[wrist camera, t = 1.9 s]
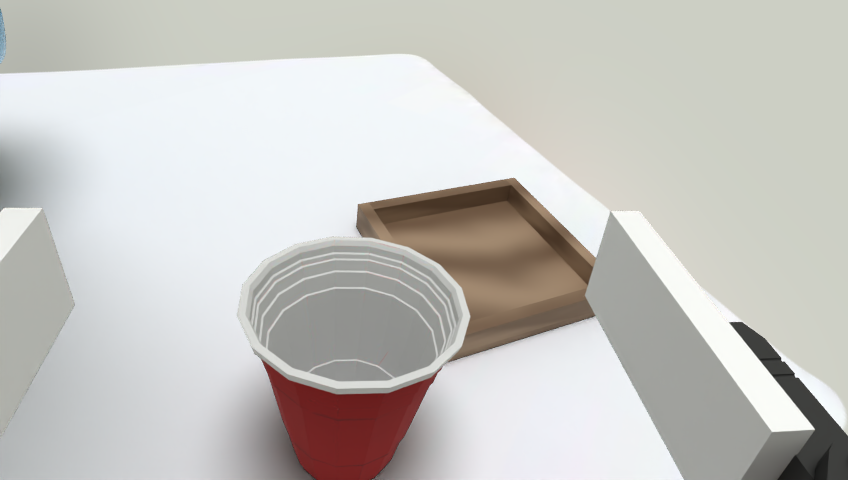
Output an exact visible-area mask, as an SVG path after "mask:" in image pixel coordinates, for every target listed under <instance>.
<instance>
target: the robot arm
mask: <svg viewBox="0 0 848 480" xmlns="http://www.w3.org/2000/svg"><path fill="white" fill-rule="evenodd" d="M5 52H6V37H5V28H4V22H3V17H2V13H1V9H0V63H1V62H2V61H3V59H4V57H5ZM585 297H586V299H587V301H588V303H589V304H590V306H591V308H592V310H593V312H594V314H595V316H596V317H597V319H598V321H599V323H600V325H601V327H602V328H603V330H604V332H605V334H606V336H607V338H608V340H609V341H610V343H611V345H612V347H613V349H614V351H615V353H616V354H617V356H618V358H619V360H620V362H621V364H622V366H623V367H624V369H625V371H626V373H627V375H628V377H629V379H630V380H631V382H632V384H633V386H634V388H635V390H636V392H637V393H638V395H639V397H640V399H641V401H642V403H643V404H644V406H645V408H646V410H647V412H648V414H649V416H650V417H651V419H652V421H653V423H654V425H655V427H656V429H657V430H658V432H659V434H660V436H661V438H662V440H663V442H664V443H665V445H666V447H667V449H668V451H669V453H670V455H671V456H672V458H673V460H674V462H675V464H676V466H677V468H678V469H679V471H680V473H681V475H682V477H683V479H684V480H848V436H847V435H846V433H845V432H844V431H843V430H842V429H841V427H840V426H839V425H838V424H837V423H836V422H835V420H834V419H833V418H832V417H831V416H830V415H829V413H828V412H827V411H826V410H825V409H824V407H823V406H822V405H821V404H820V403H819V402H818V400H817V399H816V398H815V397H814V396H813V395H812V393H811V392H810V391H809V390H808V389H807V388H806V386H805V385H804V384H803V383H802V382H801V380H800V379H799V378H795V376H794V374H795V373H794V372H793V371H792V370H791V369H790V368H789V366H788V365H787V364H786V363H785V362H782V361H781V357H780V356H779V355H778V353H777V352H776V351H775V350H774V349H773V348H772V346H771V345H770V344H769V343H768V342H767V341H766V339H765V338H763V337H762V336H761V335H759V334H758V333H756V332H755V331H754V330H752V329H751V328H749V327H748V326H747V325H745V324H744V323H743V322H728V321H727V319H726V318H725V317H724V316H723V314H722V313H721V312H720V311H719V309H718V308H717V307H716V306H715V304H714V303H713V302H712V301H711V299H710V298H709V297H708V296H707V295H706V293H705V292H704V291H703V290H702V288H701V287H700V286H699V285H698V283H697V282H696V281H695V280H694V278H693V277H692V276H691V275H690V273H689V272H688V271H687V270H686V269H685V267H684V266H683V265H682V263H681V262H680V261H679V260H678V259H677V257H676V256H675V255H674V254H673V253H672V251H671V250H670V249H669V248H668V246H667V245H666V244H665V242H664V241H663V240H662V239H661V237H660V236H659V235H658V234H657V232H656V231H655V230H654V229H653V228H652V226H651V225H650V224H649V223H648V221H647V220H646V219H645V218H644V216H643V215H642V214H641V213H640V211H611V212H610V215H609V218H608V222H607V225H606V228H605V231H604V235H603V238H602V241H601V244H600V248H599V251H598V254H597V257H596V261H595V264H594V267H593V271H592V274H591V277H590V280H589V284H588V287H587V290H586V293H585ZM74 305H75V303H74V300H73V297H72V294H71V291H70V288H69V285H68V282H67V279H66V276H65V273H64V270H63V267H62V264H61V261H60V258H59V255H58V252H57V249H56V246H55V243H54V240H53V237H52V234H51V231H50V228H49V225H48V222H47V219H46V216H45V213H44V210H43V208H4V209H3V210H2V211H1V212H0V438H1V436H2V435H3V433H4V431H5V429H6V427H7V426H8V424H9V422H10V420H11V419H12V417H13V415H14V413H15V411H16V410H17V408H18V406H19V404H20V402H21V401H22V399H23V397H24V395H25V393H26V392H27V390H28V388H29V386H30V384H31V383H32V381H33V379H34V377H35V375H36V374H37V372H38V370H39V368H40V366H41V365H42V363H43V361H44V359H45V357H46V356H47V354H48V352H49V350H50V348H51V347H52V345H53V343H54V341H55V339H56V338H57V336H58V334H59V332H60V330H61V329H62V327H63V325H64V323H65V321H66V320H67V318H68V316H69V314H70V312H71V311H72V309H73V307H74Z"/></svg>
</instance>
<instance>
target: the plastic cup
mask: <svg viewBox="0 0 848 480" xmlns="http://www.w3.org/2000/svg"><path fill="white" fill-rule="evenodd" d="M237 317H238V319H239V321H240V323H241V325H242V328H243V330H244V332H245V334H246V336H247V338H248V341H249V343H250V345H251V347H252V349H253V351H254V353H255V355H257V356H258V357H259V358H261V360H262V362H263V364H264V367H265V369H266V371H267V373H268V376H269V379H270V382H271V385H272V389H273V392H274V395H275V398H276V401H277V404H278V407H279V410H280V413H281V417H282V420H283V423H284V425H285V427H286V429H287V432H288V434H289V436H290V439H291V442H292V445H293V448H294V450H295V453H296V455H297V457H298V460H299V462H300V464H301V465H302V466H303V468H304V469H305V470H306V471H307V472H308V473H309V474H310V475H312V476H313V477H314V478H315V479H316V480H371V479H373V478H375V476H376V475H377V474H378V473H379V472H380V471H381V470H382V469H383V468H384V467H385V466H386V465H387V464H388V463H389V461H390V460H391V459H392V457H393V455H394V453H395V451H396V448H397V446H398V444H399V442H400V441H401V440H402V439H403V438H404V436H405V434H406V432H407V430H408V428H409V426H410V424H411V422H412V420H413V418H414V416H415V414H416V412H417V410H418V408H419V406H420V404H421V402H422V400H423V398H424V396H425V394H426V392H427V390H428V388H429V386H430V385H431V384H432V383H433V381H434V379H435V377H436V375H437V373H438V372H439V371H440V370H441V369H442V367H443V366H444V365H445V364H446V363H447V362H448V361H449V360H450V359H451V358H452V357H453V356H454V355H455V354H456V353H457V352H458V351H459V350H460V348H461V347H462V344H463V341H464V337H465V334H466V330H467V327H468V323H469V320H470V313H469V310H468V307H467V304H466V300H465V297H464V294H463V291H462V288H461V287H460V286H459V285H458V284H457V282H456V281H455V280H454V279H453V278H452V277H451V276H450V275H449V274H448V273H447V272H446V271H445V270H444V268H443V267H442V266H441V265H440V264H438V263H436V262H434V261H433V260H431V259H429V258H427V257H425V256H424V255H422V254H420V253H418V252H416V251H414V250H413V249H411V248H409V247H406V246H402V245H398V244H394V243H390V242H386V241H382V240H378V239H375V238H364V237H328V238H323V239H318V240H313V241H308V242H303V243H298V244H294V245H293V246H291V247H289V248H287V249H285V250H283V251H281V252H279V253H277V254H275V255H273V256H271V257H269V258H267V259H265V260H264V261H263V262H262V263H261V264H260V265H259V266H258V267H257V269H256V270H255V271H254V272H253V273H252V274H251V275H250V277H249V278H248V279H247V280H246V281H245V282H244V284H243V285H242V289H241V295H240V301H239V307H238V312H237Z"/></svg>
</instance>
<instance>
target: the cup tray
mask: <svg viewBox="0 0 848 480" xmlns="http://www.w3.org/2000/svg"><path fill="white" fill-rule="evenodd" d="M356 227H357V229H358V230H359V232H360V233H361V235H362V237H364V238H375V239H378V240H382V241H386V242H390V243H394V244H398V245H402V246H406V247H409V248H411V249H413V250H414V251H416V252H418V253H420V254H422V255H424V256H425V257H427V258H429V259H431V260H433V261H434V262H436V263H438V264H440V265H441V266H442V267H443V268H444V270H445V271H446V272H447V273H448V274H449V275H450V276H451V277H452V278H453V279H454V280H455V281H456V282H457V284H458V285H459V286H460V287H461V288H462V291H463V294H464V297H465V300H466V304H467V307H468V310H469V313H470V320H469V323H468V327H467V330H466V334H465V337H464V341H463V344H462V347H461V348H460V350H459V351H458V352H457V353H456V354H455V355H454V356H453V357H452V358H451V359H450V360H449V361H452V360H456V359H459V358H462V357H465V356H468V355H472V354H475V353H478V352H481V351H484V350H488V349H491V348H494V347H497V346H500V345H504V344H507V343H510V342H513V341H516V340H520V339H523V338H526V337H529V336H532V335H536V334H539V333H542V332H545V331H548V330H552V329H555V328H558V327H561V326H564V325H568V324H571V323H574V322H577V321H580V320H584V319H587V318H590V317H593V316H595V314H594V312H593V310H592V308H591V306H590V304H589V303H588V301H587V299H586V297H585V293H586V290H587V287H588V284H589V280H590V277H591V274H592V271H593V267H594V264H595V261H596V258H595V257H594V256H593V255H592V254H591V253H590V252H589V251H588V250H587V249H586V248H585V247H584V246H583V245H582V244H581V243H580V242H579V241H578V240H577V239H576V238H575V237H574V236H573V235H572V234H571V233H570V232H569V231H568V230H567V229H566V228H565V227H564V226H563V225H562V224H561V223H560V222H559V221H558V220H557V219H556V218H555V217H554V216H553V215H552V214H551V213H550V212H549V211H548V210H547V209H546V208H544V207H543V206H542V205H541V204H540V203H539V202H538V201H537V200H536V199H535V198H534V197H533V196H532V195H531V194H530V193H529V192H528V191H527V190H526V189H525V188H524V187H523V186H522V185H521V184H520V183H519V182H518V181H517V180H516V179H515V178H510V179H504V180H498V181H493V182H487V183H481V184H475V185H469V186H463V187H457V188H451V189H446V190H440V191H434V192H428V193H422V194H416V195H410V196H404V197H399V198H393V199H387V200H381V201H375V202H369V203H363V204H358V212H357V226H356ZM449 361H448V362H449Z"/></svg>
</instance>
